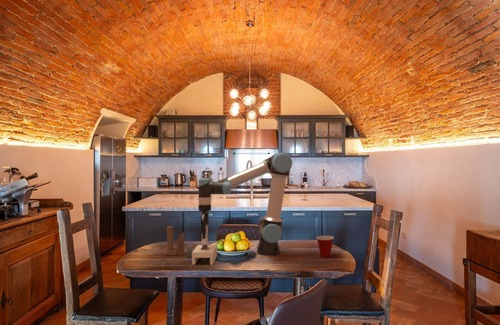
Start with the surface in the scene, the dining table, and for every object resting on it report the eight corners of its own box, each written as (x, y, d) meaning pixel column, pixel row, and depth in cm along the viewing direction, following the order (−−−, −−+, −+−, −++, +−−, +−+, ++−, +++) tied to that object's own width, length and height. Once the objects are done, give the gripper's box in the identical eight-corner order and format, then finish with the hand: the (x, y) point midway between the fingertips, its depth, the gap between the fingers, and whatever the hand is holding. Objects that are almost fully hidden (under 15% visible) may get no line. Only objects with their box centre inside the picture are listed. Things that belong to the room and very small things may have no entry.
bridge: (217, 256, 200) (217, 245, 200) (212, 264, 184) (212, 252, 184) (198, 256, 200) (198, 244, 200) (192, 264, 184) (191, 252, 184)
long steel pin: (208, 247, 194) (208, 224, 193) (207, 249, 190) (207, 225, 190) (202, 247, 194) (202, 224, 194) (201, 248, 190) (201, 225, 190)
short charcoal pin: (193, 255, 201) (193, 244, 201) (191, 257, 198) (191, 246, 198) (187, 255, 202) (188, 244, 201) (186, 257, 198) (186, 245, 198)
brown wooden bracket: (182, 255, 201) (182, 227, 201) (166, 255, 202) (166, 227, 202) (184, 254, 205) (184, 226, 204) (168, 253, 205) (167, 225, 205)
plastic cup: (320, 252, 206) (320, 234, 206) (336, 255, 200) (336, 236, 200) (313, 256, 198) (313, 237, 197) (329, 259, 191) (329, 239, 191)
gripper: (201, 202, 200) (201, 239, 200) (195, 206, 184) (195, 246, 184) (213, 202, 200) (213, 239, 200) (208, 206, 183) (208, 246, 183)
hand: (204, 242), depth 192 cm, fingers closed on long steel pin, 3 cm apart
